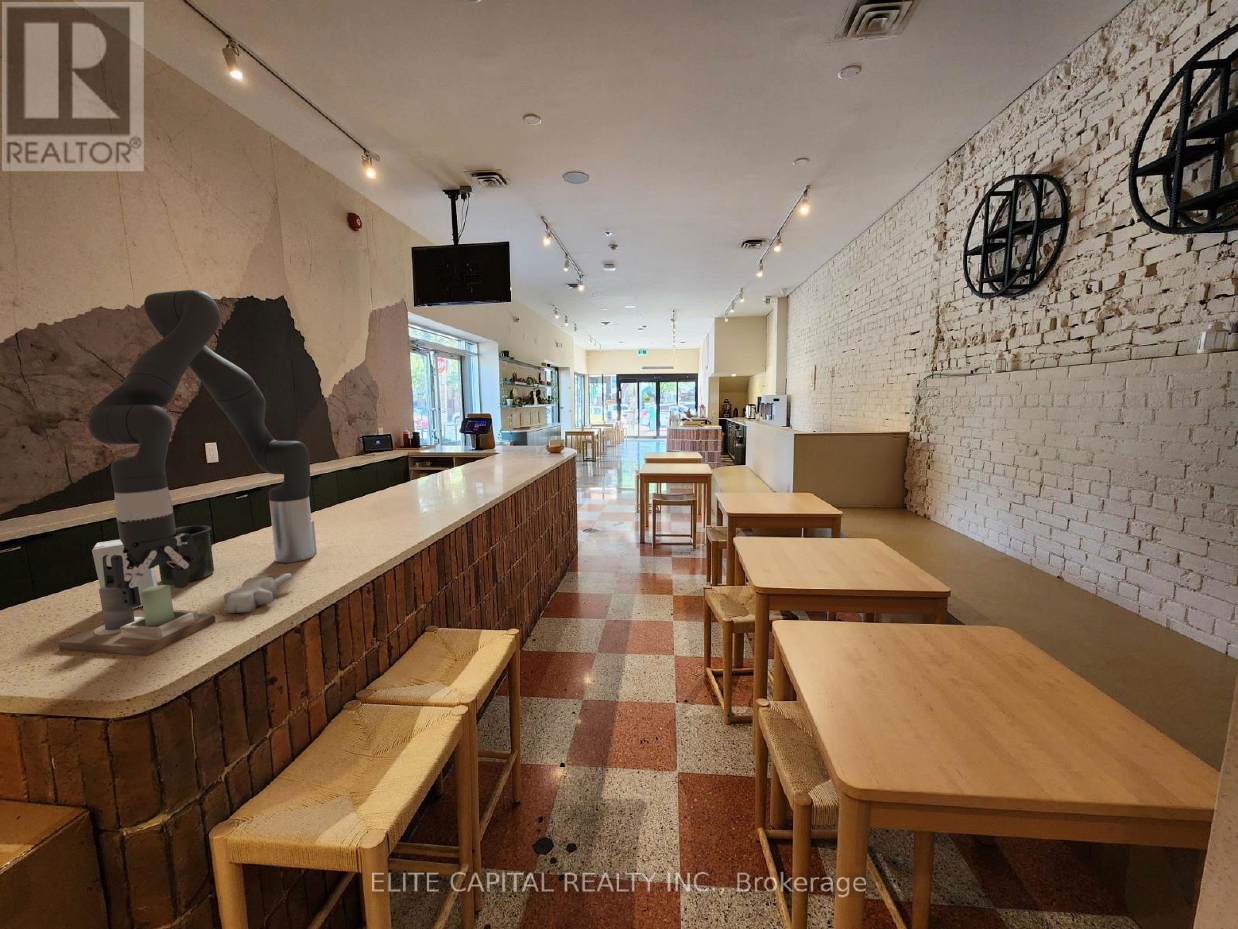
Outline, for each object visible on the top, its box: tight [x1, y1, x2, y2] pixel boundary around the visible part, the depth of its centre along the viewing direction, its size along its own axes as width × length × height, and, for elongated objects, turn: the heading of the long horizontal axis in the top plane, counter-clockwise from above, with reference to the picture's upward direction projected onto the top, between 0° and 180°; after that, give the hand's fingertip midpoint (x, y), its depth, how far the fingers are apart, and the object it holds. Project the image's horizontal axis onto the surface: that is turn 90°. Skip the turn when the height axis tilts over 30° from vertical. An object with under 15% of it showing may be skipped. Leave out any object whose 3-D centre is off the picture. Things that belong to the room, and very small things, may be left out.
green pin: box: [141, 584, 175, 627], centre depth 92 cm, size 4×4×8 cm
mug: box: [158, 525, 215, 585], centre depth 123 cm, size 11×15×12 cm
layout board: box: [57, 586, 216, 657], centre depth 92 cm, size 13×18×10 cm
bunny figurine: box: [223, 572, 294, 614], centre depth 108 cm, size 10×5×15 cm
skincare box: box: [91, 538, 159, 610], centre depth 104 cm, size 8×6×15 cm
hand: (158, 596), depth 91 cm, fingers open, 8 cm apart
